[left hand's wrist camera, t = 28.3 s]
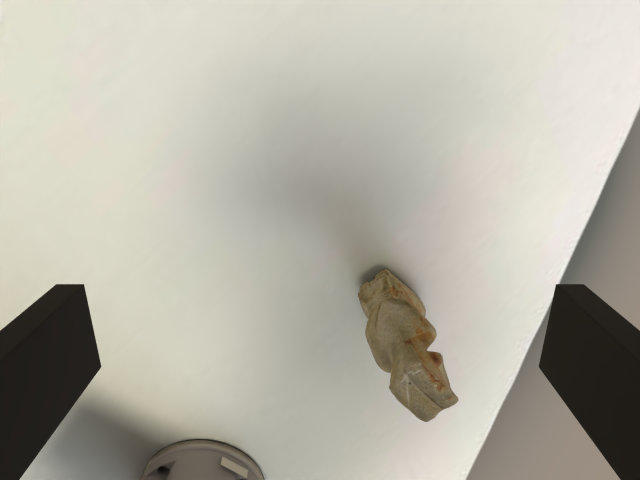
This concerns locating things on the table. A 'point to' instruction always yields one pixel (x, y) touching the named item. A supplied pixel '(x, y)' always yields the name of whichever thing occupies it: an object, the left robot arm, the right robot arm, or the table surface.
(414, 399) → the sculpture
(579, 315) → the left robot arm
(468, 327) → the table surface
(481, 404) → the table surface
